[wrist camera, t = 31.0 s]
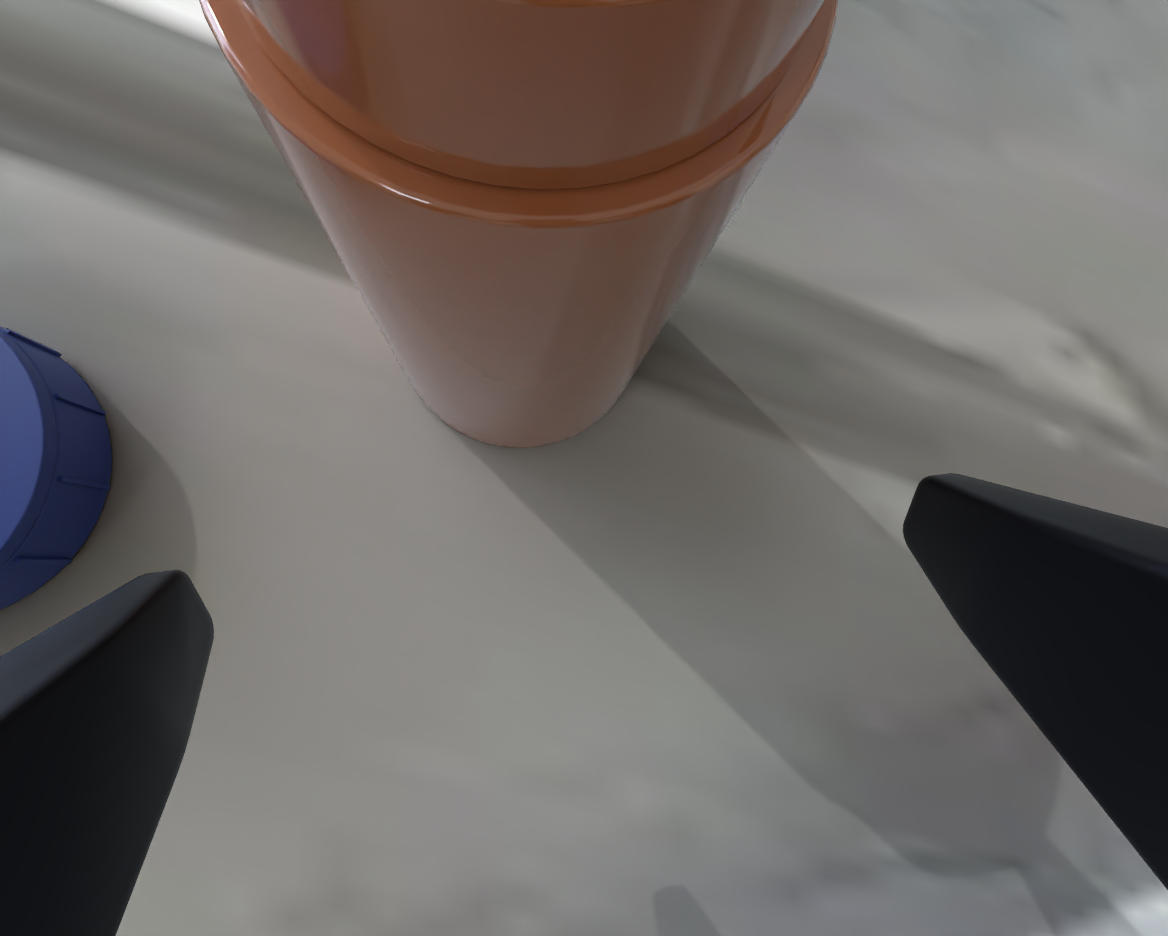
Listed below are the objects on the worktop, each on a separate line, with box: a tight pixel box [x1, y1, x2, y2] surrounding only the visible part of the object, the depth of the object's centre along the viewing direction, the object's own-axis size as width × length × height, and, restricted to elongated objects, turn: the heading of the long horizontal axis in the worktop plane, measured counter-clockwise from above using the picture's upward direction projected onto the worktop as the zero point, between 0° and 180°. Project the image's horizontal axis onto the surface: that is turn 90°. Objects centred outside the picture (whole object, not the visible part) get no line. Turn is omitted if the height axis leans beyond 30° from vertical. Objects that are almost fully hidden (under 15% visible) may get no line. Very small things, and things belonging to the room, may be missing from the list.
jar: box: [199, 0, 838, 448], centre depth 11 cm, size 6×6×13 cm
